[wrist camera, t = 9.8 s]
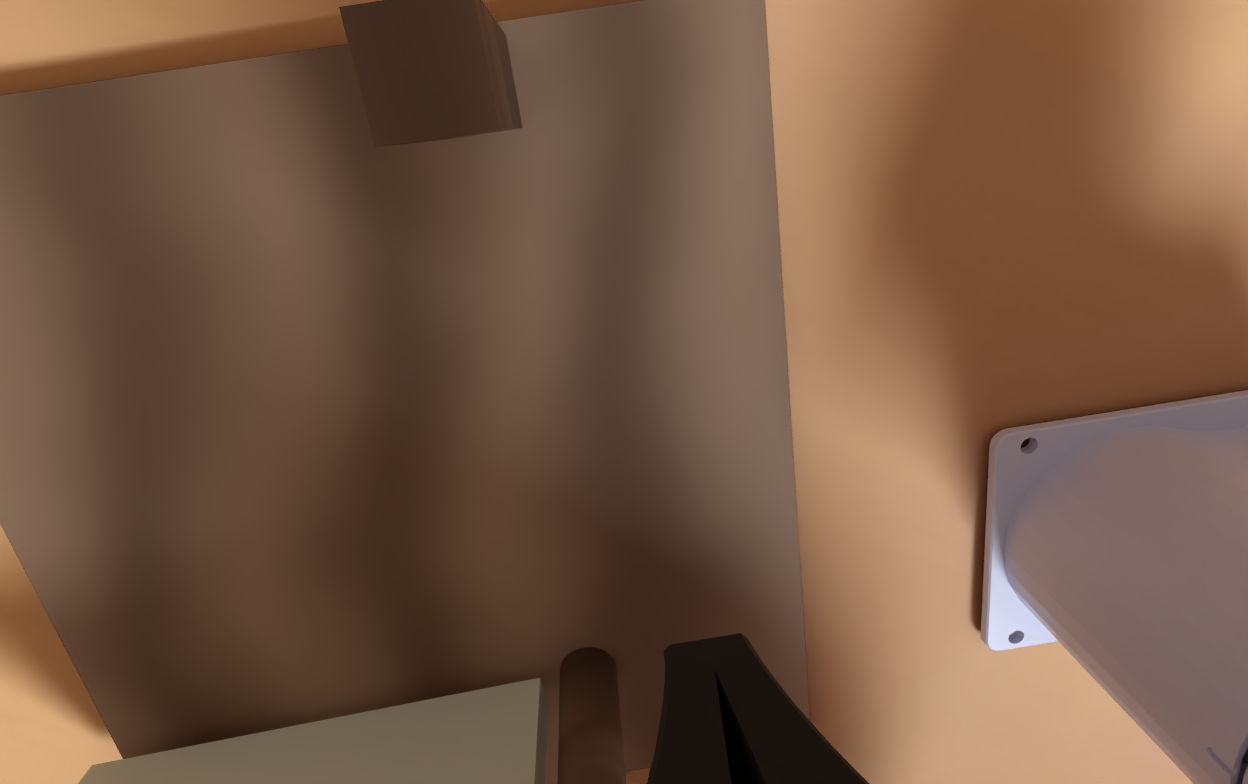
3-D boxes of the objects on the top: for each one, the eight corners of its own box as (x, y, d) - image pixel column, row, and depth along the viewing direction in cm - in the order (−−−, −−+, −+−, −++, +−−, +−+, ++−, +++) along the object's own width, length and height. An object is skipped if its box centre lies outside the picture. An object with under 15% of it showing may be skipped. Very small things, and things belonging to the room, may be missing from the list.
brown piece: (757, -14, 17) (865, -95, 11) (805, 726, 25) (883, 923, 19) (-181, 126, 16) (-630, 126, 10) (178, 830, 25) (47, 1065, 18)
